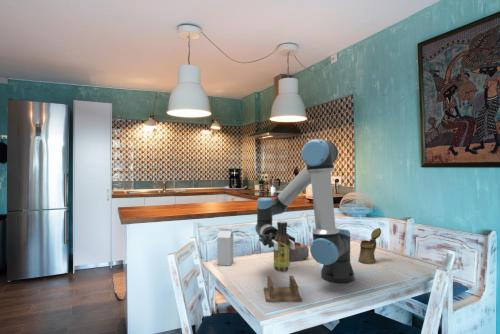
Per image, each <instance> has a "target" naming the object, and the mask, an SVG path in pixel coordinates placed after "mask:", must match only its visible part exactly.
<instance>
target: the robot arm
mask: <svg viewBox="0 0 500 334" xmlns="http://www.w3.org/2000/svg"><path fill="white" fill-rule="evenodd" d="M301 157H302V160H303V163H305V164H306V165H305V166H304V168H302V170H301V171H300V172H299V173H298V174H297V175H295V177H294V178H293V179H292V180H291V181H290V182H289V183H288V185H286V186H285V187H284V188H283V189H282V191H280V193H279V194H278V195H277V196H276V197H275V198H274V199H272V198H270V197H260V198H258V199H257V202H256V204H257V205H256V217H257V219H256V224H255V232H256V234H257V235H258V241H259V242H261V244H262V245H263V246H266V247H268V248H269V249H270V248H273V250H274V249H275V250H278V243H277V242H276V241H275V236H276V235H277V231H278V228H276V227H275V226H273V216H276V215H282V214H283V213H285V212H286V211H288V206H290V205H291V204H292V203H293V201H294V200H295V199H297V198H298V197H299V196H300V195H301V193H303V191H304V190H306V189H307V188H308V187H309V185H311V191H312V201H313V202H312V203H313V205H312V206H313V214H314V226H315V227H314V228H315V229H314V230H313V231H312V242H311V243H310V246H309V252H310V254H311V257H312V259H313V260H315V261H316V262H317V263H318V264H320V265H322V267H321V271H320V276H321V278H322V279H323V280H325V281H327V282H331V283H337V284H344V283H345V284H347V283H351V282H353V281H354V280H355V272H354V269H353V266H352V263H351V232H350V230H349V229H345V228H337V227H336V217H335V207H334V197H333V185H332V184H333V183H332V175H331V173H332V171H333V170H335V169H334V164H335V162H336V161H337V159H338V157H339V149H338V147H337V145H336V144H334V142H332V141H329V140H325V139H321V138H313V139H311V140H308V141H307V142H306V143H305V144H304V145H303V147H302V150H301ZM287 235H288V237H289V247H290V248H292V249H295V242H296V238H295V236H291V235H290V234H289V233H287ZM267 245H268V246H267Z"/></svg>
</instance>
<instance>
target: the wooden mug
mask: <svg viewBox="0 0 500 334" xmlns="http://www.w3.org/2000/svg"><path fill="white" fill-rule="evenodd" d="M381 234H382V229H381V228H380V227H379V228H375V229H373V231H372V232H371V235H370V236H371V239H369V240H365V239H364V240H363V239H362V240H361V241H360V245H359V247H360V250H359V257H358V260H357V261H358V262H359V263H361V264H366V265H374V264H376V263H375V262H376V258H375V251H376V249H377V239H379V237H380V236H381ZM373 263H374V264H373Z"/></svg>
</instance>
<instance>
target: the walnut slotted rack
mask: <svg viewBox="0 0 500 334" xmlns="http://www.w3.org/2000/svg"><path fill="white" fill-rule="evenodd" d="M288 277H289V279H288V280H289V286H288V287H286V286H285V287H279V286H278V287H274V281H273V280H272V276H271V275H267V276H266V278H267V279H266V282H267V283H266V284H267V287H263V293H264V299H265V302H266V303H281V302H302V301H303V298H302V296H301V294H300V291H299V285H298V283H297V281H296V278H295V277H294V275H289V276H288Z"/></svg>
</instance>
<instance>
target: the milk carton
mask: <svg viewBox="0 0 500 334" xmlns="http://www.w3.org/2000/svg"><path fill="white" fill-rule="evenodd" d="M216 237H217V238H216V240H217V242H216V243H217V245H216V249H217V251H216V253H217V255H216V256H217V259H216V261H217V266H226V267H227V266H231V265H232V264H233V263H234V233H233V229H232V228H218V233H217V236H216Z"/></svg>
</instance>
